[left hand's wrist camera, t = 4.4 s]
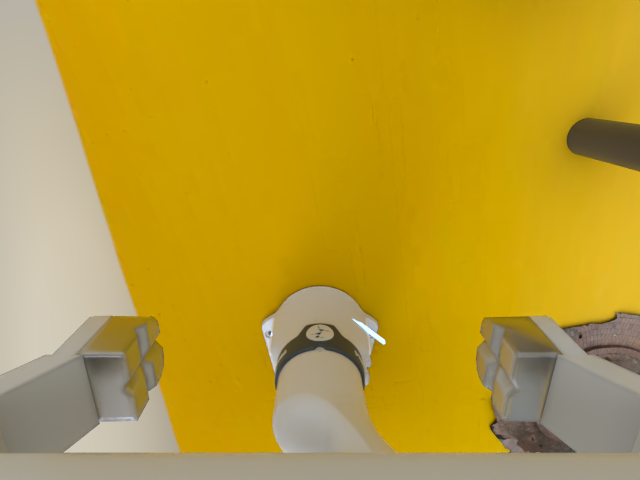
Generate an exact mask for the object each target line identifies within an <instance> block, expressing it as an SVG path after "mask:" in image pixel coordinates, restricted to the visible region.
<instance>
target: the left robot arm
mask: <svg viewBox="0 0 640 480" xmlns="http://www.w3.org/2000/svg"><path fill="white" fill-rule="evenodd" d="M262 331H263V334H264V338H265V341H266V345H267V348H268V351H269V355H270V358H271V362H272V365H273V368H274V372H275V387H276V398H275V405H274V413H273V420H272V426H273V432H274V436H275V439H276V441H277V443H278V445H279V446H280V448H281V449H282V451H283V452H284V453H63V452H64V451H66V450H67V449H68V448H70V447H71V446H72V445H73V444H75V443H76V442H77V441H78V440H80V439H81V438H82V437H84V436H85V435H86V434H87V433H89V432H90V431H91V430H92V429H94V428H95V427H96V426H97V425H99V423H100V422H109V421H137V420H138V419H139V417H140V415H141V413H142V412H143V410H144V408H145V406H146V404H147V402H148V400H149V395H148V391H149V390H151V389H152V388H154V387H155V386H157V384H158V382H159V380H160V378H161V375H162V370H163V366H164V354H163V348H162V346H161V345H160V344H159V343H158V342H157V341H156V340H155V339H156V338H157V336H158V334H159V333H160V330H159V325H158V321H157V320H156V319H155V318H154V317H134V316H93V317H89V318H88V320H86V321H85V322H84V323H83V324H82V325H81V326H80V327H79V328H78V329H77V330H76V331H75V332H74V333H73V334H72V336H70V337H69V338H68V339H67V340H66V341H65V342H64V343H63V344H62V345H61V346H60V347H59V348H58V349H57V350H56V351H55V352H54V353H53V355H44V356H42V357H39V358H37V359H35V360H33V361H31V362H28V363H26V364H24V365H22V366H20V367H17V368H15V369H13V370H11V371H9V372H6V373H4V374H2V375H0V480H640V375H638V374H636V373H634V372H632V371H629V370H627V369H625V368H623V367H620V366H618V365H616V364H614V363H612V362H609V361H607V360H605V359H603V358H601V357H598V356H596V355H588V354H587V353H586V352H585V351H584V350H583V349H582V348H581V347H580V346H579V345H578V344H577V343H576V342H575V341H574V340H573V339H572V338H571V337H570V336H569V335H568V334H567V333H566V332H565V331H564V330H563V329H562V328H561V327H560V326H559V325H558V324H557V323H556V322H555V321H554V320H553V319H552V318H550V317H548V316H525V317H488V318H484V320H483V322H482V324H481V330H480V333H481V334H482V336H483V338H484V339H485V340H484V341H483V342H482V343H481V344H480V345H479V346H478V348H477V355H476V364H477V371H478V375H479V378H480V380H481V382H482V384H483V386H485V387H486V388H488V389H489V390H491V391H492V395H491V401H492V402H493V404H494V406H495V408H496V410H497V411H498V413H499V415H500V417H501V419H502V421H530V422H540V424H541V425H543V426H544V427H545V428H547V429H548V430H549V431H550V432H552V433H553V434H554V435H555V436H557V437H558V438H559V439H560V440H562V441H563V442H564V443H565V444H567V445H568V446H569V447H571V448H572V449H573V450H574V451H576V452H577V453H397V452H396V451H395V450H394V449H393V448H392V447H391V446H390V445H389V444H388V443H387V442H386V441H385V440H384V439H383V438H382V436H381V435H380V434H379V433H378V431H377V430H376V428H375V427H374V425H373V423H372V421H371V419H370V416H369V413H368V409H367V405H366V401H365V396H364V387H365V385H368V383H369V371H368V370H366V369H367V367H370V366H371V358H370V355H371V351H372V348H373V345H374V341H375V338H376V339H377V340H379V341H380V342H381V343H383V344H385V340H384V339H383V338H381V337H380V336H379V335H377V331H378V322H377V320H376V319H374V318H373V317H371V316H370V315H368V314H366V313H365V312H364V311H363V310H362V309H361V308H360V306H359V305H358V304H357V302H356V301H355V300H354V299H353V298H352V297H351V296H349V295H348V294H346V293H345V292H343V291H341V290H338V289H335V288H332V287H326V286H314V287H308V288H305V289H302V290H299V291H297V292H295V293H294V294H292V295H291V296H289V297H288V298H287V299H286V300H285V301H284V302H283V304H282V305H281V306H280V308H279V309H278V310H277V312H275V313H274V314H272V315H270V316H269V317H267V318H266V319H264V320H263V322H262ZM269 331H271V333H270V332H269Z"/></svg>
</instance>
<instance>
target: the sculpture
mask: <svg viewBox="0 0 640 480" xmlns="http://www.w3.org/2000/svg"><path fill="white" fill-rule="evenodd" d="M616 314H617V319H615V320H613V321H611V322H607V323H603V324H595V323H594V324H589V326H586V325H583V326H581V327H579V326H578V327H571V328H569V329H568V328H566V329H563V330H564V331H565V332H566V333H567V334H568V335H569V336H570V337H571V338H572V339H573V340H574V341H575V342H576V343H577V344H578V345H579V346H580V347H581V348H582V349H583V350H584V351H585V352H586V353H587V354H588V355H596V356H598V357H601V358H603V359H605V360H607V361H609V362H612V363H614V364H616V365H618V366H620V367H623V368H625V369H627V370H629V371H632V372H634V373H636V374H638V375H640V316H638V315H629V314H623V313H622V314H620V313H616ZM579 335H582V338H581V339H579ZM493 408H494V413H495V416H496V419H497V423H496V424H493V425H491V426H490V428H491V430H492V432H493V433H494V434H495V435H496V437H497V438H498V439H499V440H500V441H501V442H502V443H503V444H504V447H505V448H506V449H509V450H511V453H536V452H540V453H577V452H576V451H574V450H573V449H572V448H571V447H569V446H568V445H567V444H565V443H564V442H563V441H562V440H560V439H559V438H558V437H557V436H555V435H554V434H553V433H552V432H550V431H549V430H548V429H547V428H545V427H544V426H543V425H541V424H540V422H530V421H502V419H501V417H500V415H499V413H498V411H497V410H496V408H495V406H494V404H493ZM532 438H533V439H534V441H533V440H532ZM540 445H542V447H540Z"/></svg>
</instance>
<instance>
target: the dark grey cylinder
mask: <svg viewBox="0 0 640 480" xmlns="http://www.w3.org/2000/svg"><path fill="white" fill-rule="evenodd" d="M567 144H568V147H569V149H570V150H571V151H572V152H573V153H575V154H578V155H582V156H585V157H589V158H593V159H596V160H600V161H604V162H607V163H611V164H614V165H618V166H622V167H625V168H629V169H632V170H636V171H640V125H639V124H632V123H624V122H616V121H608V120H601V119H593V118H586V119H583V120H581V121H579V122H577V123H576V124H575V125H574V126H573V127H572V128H571V129H570V131H569V133H568V137H567Z"/></svg>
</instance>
